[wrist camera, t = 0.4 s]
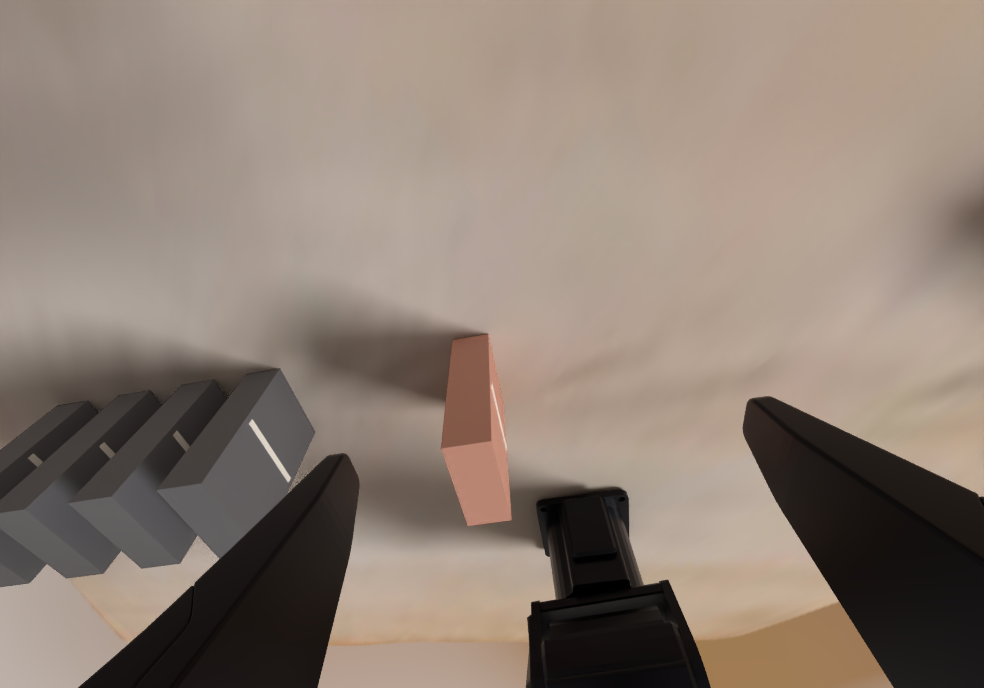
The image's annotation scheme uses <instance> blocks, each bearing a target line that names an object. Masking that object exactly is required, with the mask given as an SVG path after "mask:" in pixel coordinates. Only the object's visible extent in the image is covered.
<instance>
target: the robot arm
mask: <svg viewBox="0 0 984 688" xmlns="http://www.w3.org/2000/svg"><path fill="white" fill-rule="evenodd" d="M743 434H744V437H745V439H746V441H747V443H748V446H749V448H750V450H751V452H752V454H753V456H754V458H755V460H756V462H757V464H758V466H759V468H760V470H761V472H762V474H763V476H764V478H765V480H766V482H767V484H768V486H769V488H770V490H771V492H772V494H773V496H774V498H775V500H776V502H777V503H778V505H779V507H780V508H781V510H782V512H783V513H784V515H785V516H786V518H787V520H788V521H789V523H790V524H791V526H792V528H793V529H794V531H795V532H796V534H797V535H798V537H799V539H800V540H801V542H802V543H803V545H804V547H805V548H806V550H807V551H808V553H809V554H810V556H811V558H812V559H813V561H814V562H815V564H816V565H817V567H818V569H819V570H820V572H821V573H822V575H823V577H824V578H825V580H826V581H827V583H828V584H829V586H830V588H831V589H832V591H833V592H834V594H835V595H836V597H837V599H838V600H839V602H840V603H841V605H842V607H843V608H844V609H845V611H846V613H847V614H848V616H849V618H850V619H851V620H852V622H853V624H854V625H855V627H856V629H857V630H858V632H859V633H860V635H861V637H862V638H863V640H864V641H865V643H866V644H867V646H868V648H869V649H870V651H871V652H872V654H873V655H874V657H875V659H876V660H877V662H878V663H879V665H880V666H881V668H882V670H883V671H884V673H885V674H886V676H887V678H888V679H889V681H890V682H891V684H892V685H893V687H894V688H984V497H979V496H978V494H977V493H975V492H973V491H971V490H968V489H966V488H964V487H962V486H960V485H958V484H956V483H954V482H951V481H949V480H947V479H945V478H943V477H941V476H939V475H937V474H934V473H932V472H930V471H928V470H926V469H924V468H922V467H920V466H917V465H915V464H913V463H911V462H909V461H907V460H905V459H903V458H901V457H898V456H896V455H894V454H892V453H890V452H888V451H886V450H884V449H881V448H879V447H877V446H875V445H873V444H871V443H869V442H867V441H864V440H862V439H860V438H858V437H856V436H854V435H852V434H850V433H847V432H845V431H843V430H841V429H839V428H837V427H835V426H833V425H830V424H828V423H826V422H824V421H822V420H820V419H818V418H816V417H814V416H811V415H809V414H807V413H805V412H803V411H801V410H799V409H797V408H794V407H792V406H790V405H788V404H786V403H784V402H782V401H780V400H777V399H775V398H773V397H770V396H764V397H757V398H751V399H749V400H748V402H747V405H746V411H745V416H744V422H743ZM358 494H359V478H358V475H357V473H356V471H355V469H354V467H353V465H352V463H351V461H350V458H349V457H348V455H347V454H344V453H341V454H334V455H329V456H327V457H326V458H325V459H324V460H323V461H321V462H320V463H319V464H318V465H317V466H316V467H315V468H314V469H313V470H312V471H311V472H310V473H309V474H308V475H307V476H306V477H305V478H304V479H303V480H302V481H301V482H300V483H299V484H297V485H296V486H295V487H294V488H293V489H292V490H291V491H290V492H289V493H288V494H287V495H286V496H285V497H284V498H283V499H282V500H281V501H280V502H279V503H278V504H277V505H276V506H274V507H273V508H272V509H271V510H270V511H269V512H268V513H267V514H266V515H265V516H264V517H263V518H262V519H261V520H260V521H259V522H258V523H257V524H256V525H255V526H254V527H253V528H252V529H250V530H249V531H248V532H247V533H246V534H245V535H244V536H243V537H242V538H241V539H240V540H239V541H238V542H237V543H236V544H235V545H234V546H233V547H232V548H231V549H230V550H229V551H227V552H226V553H225V554H224V555H223V556H222V557H221V558H220V559H219V560H218V561H217V562H216V563H215V564H214V565H213V566H212V567H211V568H210V569H209V570H208V571H207V572H206V573H204V574H203V575H202V576H201V577H200V578H199V579H198V580H197V581H196V582H195V584H194V586H191V587H190V588H189V589H188V590H187V591H186V592H185V593H183V594H182V595H181V596H180V597H179V598H178V599H177V600H176V601H175V602H174V603H173V604H172V605H171V606H170V607H169V608H168V609H167V610H165V611H164V612H163V613H162V614H161V615H160V616H159V617H158V618H157V619H156V620H155V621H154V622H153V623H151V624H150V625H149V626H148V627H147V628H146V629H145V630H144V631H143V632H142V633H140V634H139V635H138V636H137V637H136V638H135V639H134V640H132V641H131V642H130V643H129V644H128V645H127V646H126V647H125V648H124V649H122V650H121V651H120V652H119V653H118V654H117V655H115V656H114V657H113V658H112V659H111V660H110V661H109V662H107V663H106V664H105V665H104V666H103V667H102V668H100V669H99V670H98V671H97V672H96V673H95V674H94V675H92V676H91V677H90V678H89V679H88V680H86V681H85V682H84V683H83V684H82V685H81V686H80V687H78V688H317V687H318V683H319V679H320V675H321V671H322V666H323V662H324V658H325V655H326V650H327V646H328V642H329V638H330V634H331V630H332V626H333V622H334V618H335V614H336V610H337V605H338V601H339V597H340V593H341V589H342V585H343V581H344V577H345V573H346V569H347V565H348V560H349V556H350V551H351V545H352V539H353V531H354V524H355V516H356V509H357V501H358ZM536 509H537V514H538V519H539V524H540V529H541V534H542V539H543V544H544V549H545V554H546V556H548V557H550V560H551V567H552V574H553V582H554V589H555V596H556V600H551V601H545V602H540V601H535V602H531V615H530V616H529V617H528V618H527V620H528V632H529V658H528V669H527V680H526V688H711V687H710V684H709V680H708V677H707V674H706V671H705V668H704V665H703V662H702V659H701V656H700V654H699V651H698V648H697V646H696V643H695V641H694V638H693V636H692V634H691V632H690V629H689V627H688V625H687V622H686V620H685V618H684V615H683V613H682V611H681V608H680V606H679V604H678V601H677V599H676V597H675V594H674V592H673V590H672V587H671V585H670V583H669V581H668V580H663V581H659V583H655V584H649V585H644V584H643V581H642V578H641V575H640V572H639V569H638V565H637V562H636V559H635V556H634V553H633V550H632V546H631V543H630V540H629V498H628V495H627V492H626V491H624V490H616V491H609V492H601V493H594V494H587V495H579V496H572V497H564V498H557V499H549V500H542V501H539V502H537V504H536Z"/></svg>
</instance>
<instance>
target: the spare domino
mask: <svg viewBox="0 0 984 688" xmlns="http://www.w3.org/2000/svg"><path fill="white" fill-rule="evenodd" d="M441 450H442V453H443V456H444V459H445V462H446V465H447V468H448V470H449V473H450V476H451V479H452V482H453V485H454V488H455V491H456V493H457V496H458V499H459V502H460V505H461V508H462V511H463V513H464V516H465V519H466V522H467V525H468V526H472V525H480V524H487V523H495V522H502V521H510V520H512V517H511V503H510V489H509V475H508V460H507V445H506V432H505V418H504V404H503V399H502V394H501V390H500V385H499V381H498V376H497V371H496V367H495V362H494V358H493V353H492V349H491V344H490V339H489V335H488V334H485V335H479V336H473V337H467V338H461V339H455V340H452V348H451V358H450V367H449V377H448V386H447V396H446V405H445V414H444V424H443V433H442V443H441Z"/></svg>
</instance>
